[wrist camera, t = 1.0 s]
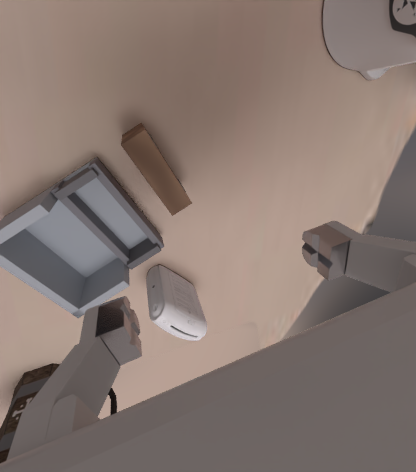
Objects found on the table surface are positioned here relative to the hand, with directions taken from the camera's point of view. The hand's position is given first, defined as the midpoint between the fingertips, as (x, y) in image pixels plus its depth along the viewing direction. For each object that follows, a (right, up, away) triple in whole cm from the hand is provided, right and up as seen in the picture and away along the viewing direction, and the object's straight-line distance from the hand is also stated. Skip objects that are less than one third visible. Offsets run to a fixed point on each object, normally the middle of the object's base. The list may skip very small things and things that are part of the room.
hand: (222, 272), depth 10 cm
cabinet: (-18, +3, +26) cm, 32 cm away
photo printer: (-8, -7, +36) cm, 37 cm away
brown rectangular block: (-8, +12, +24) cm, 28 cm away
